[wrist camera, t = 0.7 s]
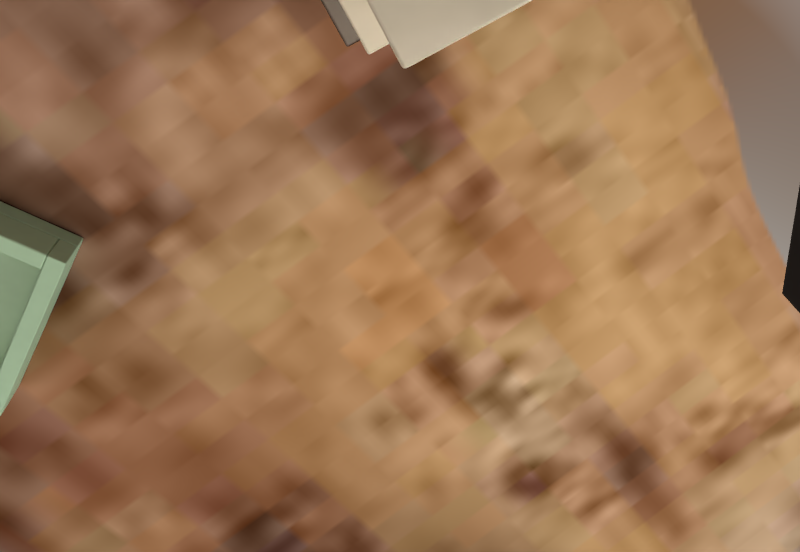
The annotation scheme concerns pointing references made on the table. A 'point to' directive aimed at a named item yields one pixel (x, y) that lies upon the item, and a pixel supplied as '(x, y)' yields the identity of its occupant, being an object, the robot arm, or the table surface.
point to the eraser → (421, 23)
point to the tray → (28, 288)
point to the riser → (341, 21)
